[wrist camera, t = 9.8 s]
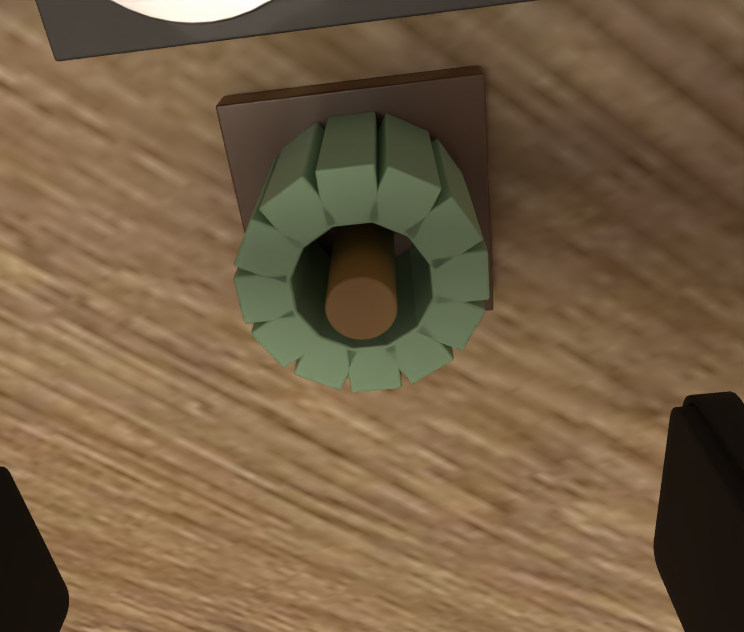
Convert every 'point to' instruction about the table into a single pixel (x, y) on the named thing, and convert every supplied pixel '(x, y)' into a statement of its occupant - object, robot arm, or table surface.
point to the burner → (192, 9)
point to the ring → (357, 206)
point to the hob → (284, 14)
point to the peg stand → (383, 96)
